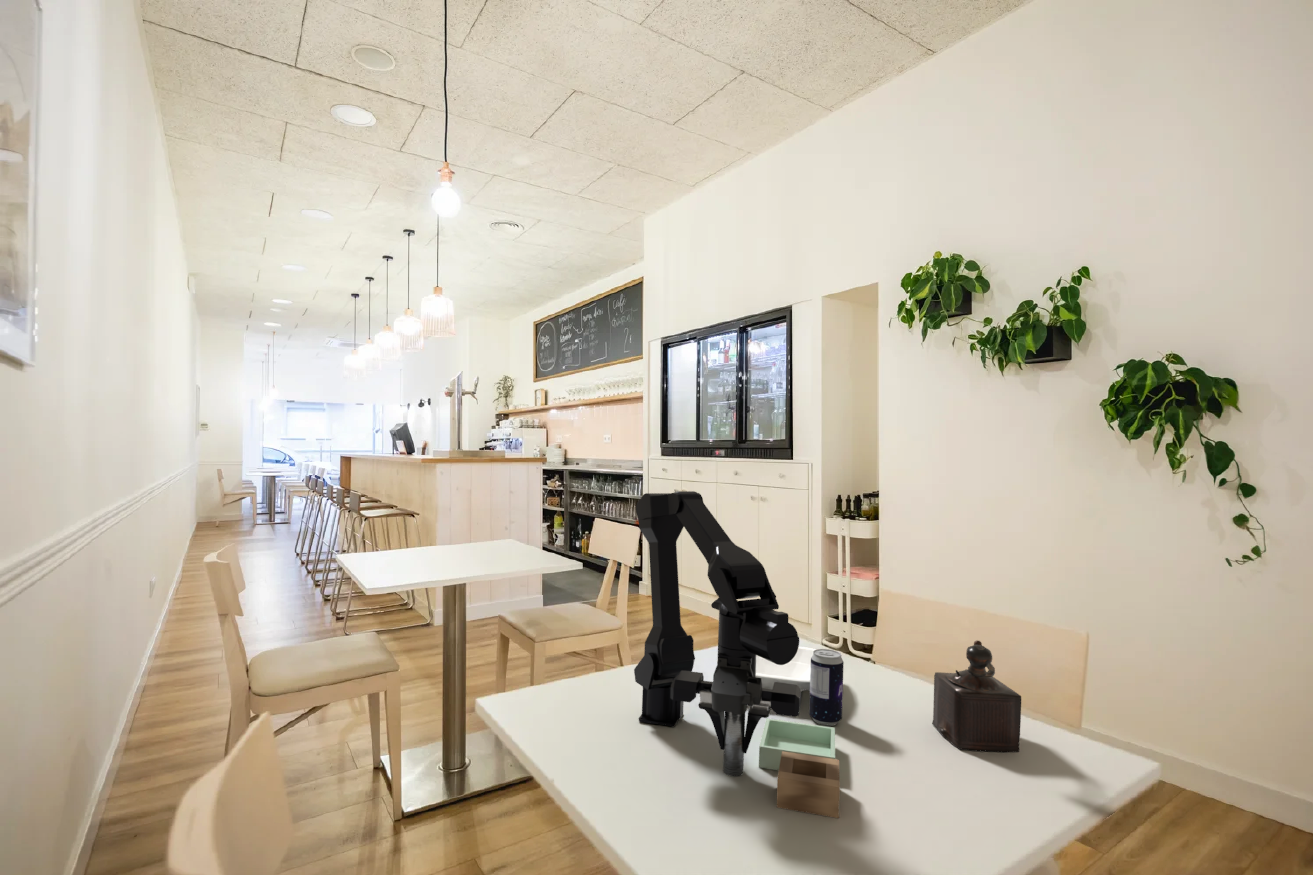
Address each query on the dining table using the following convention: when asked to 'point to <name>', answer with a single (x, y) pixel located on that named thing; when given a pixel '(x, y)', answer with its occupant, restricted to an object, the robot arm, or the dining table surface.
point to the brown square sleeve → (808, 784)
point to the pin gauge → (733, 744)
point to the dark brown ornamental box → (977, 706)
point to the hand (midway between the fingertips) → (733, 750)
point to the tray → (794, 741)
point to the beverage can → (826, 687)
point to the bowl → (786, 670)
